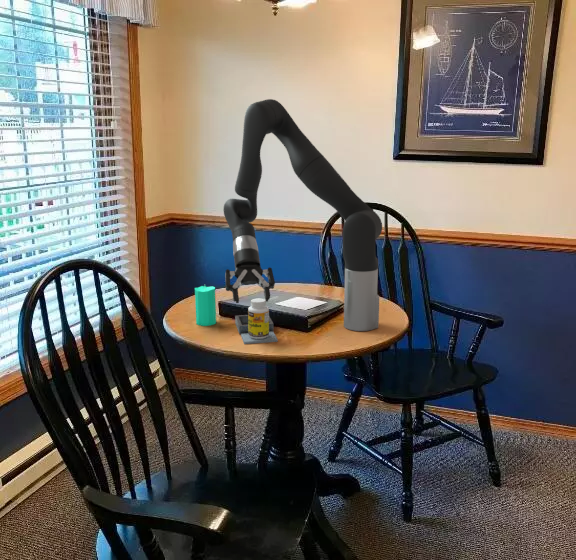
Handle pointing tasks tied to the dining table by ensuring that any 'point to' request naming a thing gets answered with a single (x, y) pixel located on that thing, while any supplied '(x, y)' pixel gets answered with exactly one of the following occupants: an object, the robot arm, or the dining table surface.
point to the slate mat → (249, 340)
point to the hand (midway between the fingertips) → (252, 301)
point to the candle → (205, 306)
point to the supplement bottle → (258, 319)
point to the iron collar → (244, 320)
